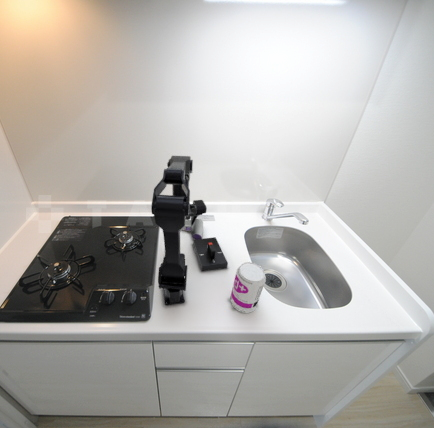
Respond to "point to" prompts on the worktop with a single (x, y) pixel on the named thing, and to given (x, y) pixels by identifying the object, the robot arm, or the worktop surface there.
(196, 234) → the infrared thermometer
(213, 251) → the stove knob
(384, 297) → the worktop surface
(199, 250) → the stove panel
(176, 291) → the robot arm
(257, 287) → the supplement can
